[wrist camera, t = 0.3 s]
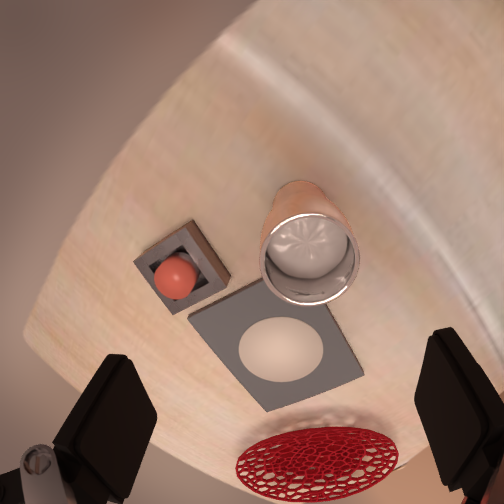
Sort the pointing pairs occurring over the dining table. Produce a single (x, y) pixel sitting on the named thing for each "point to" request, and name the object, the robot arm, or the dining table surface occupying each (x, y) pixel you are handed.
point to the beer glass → (307, 247)
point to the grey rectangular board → (276, 345)
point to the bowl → (317, 461)
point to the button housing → (203, 255)
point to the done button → (176, 275)
